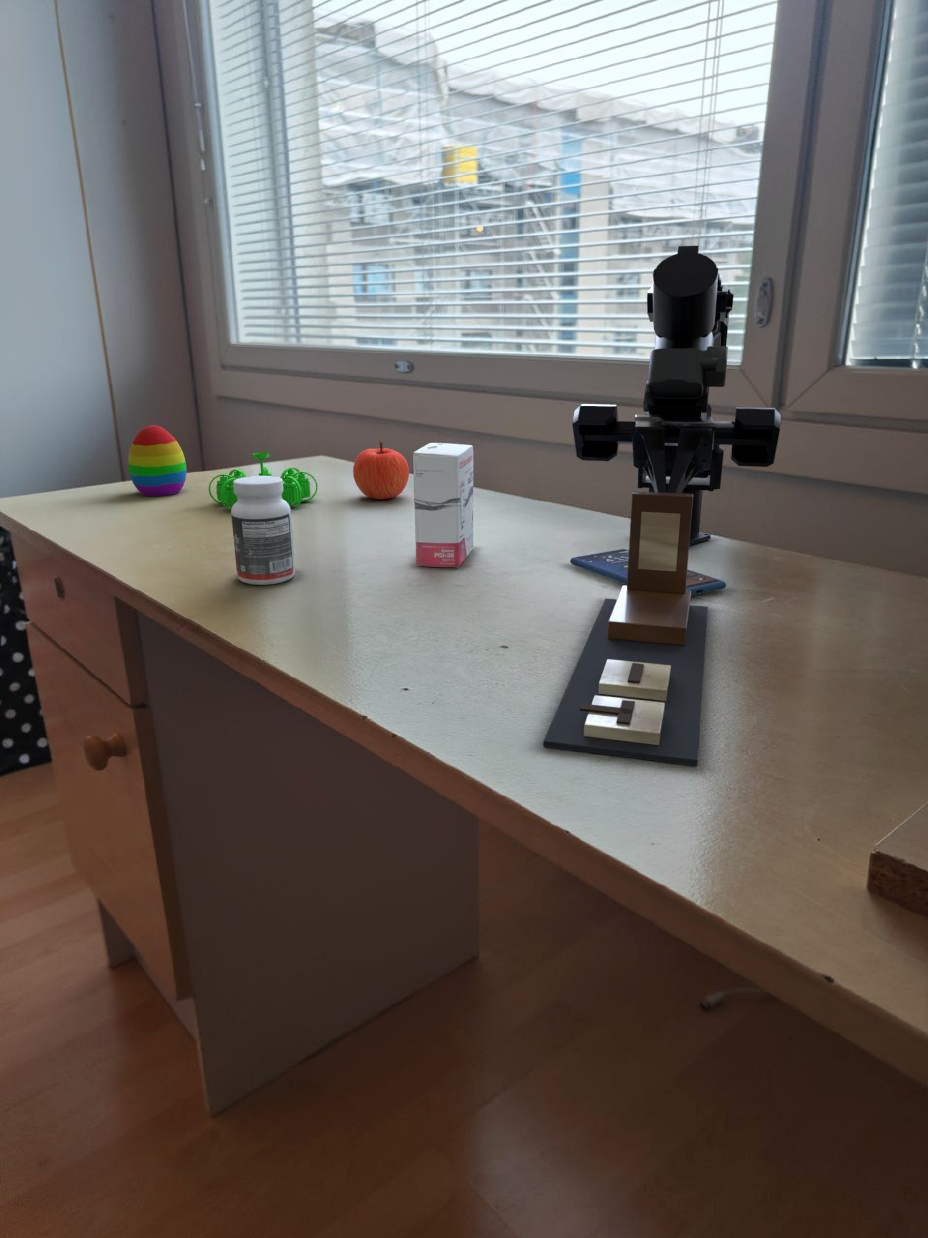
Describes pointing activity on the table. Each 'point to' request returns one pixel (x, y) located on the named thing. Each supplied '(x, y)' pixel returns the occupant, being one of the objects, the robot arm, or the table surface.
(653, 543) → the brown picture frame
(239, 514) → the pill bottle
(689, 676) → the word mat
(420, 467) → the ink box
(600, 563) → the smartphone
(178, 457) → the decorative egg
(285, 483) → the chandelier
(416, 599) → the table surface
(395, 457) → the apple
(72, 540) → the table surface
